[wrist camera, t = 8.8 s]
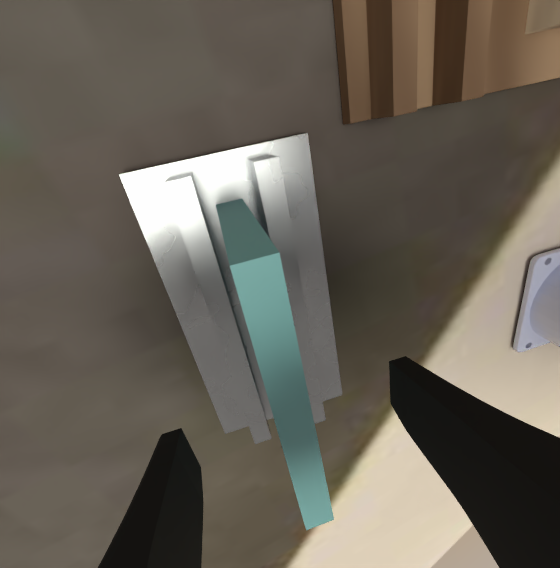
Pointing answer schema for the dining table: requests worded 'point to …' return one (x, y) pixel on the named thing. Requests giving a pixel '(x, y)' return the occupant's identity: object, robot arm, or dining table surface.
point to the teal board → (276, 353)
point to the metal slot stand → (217, 274)
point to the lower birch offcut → (543, 15)
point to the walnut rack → (435, 53)
